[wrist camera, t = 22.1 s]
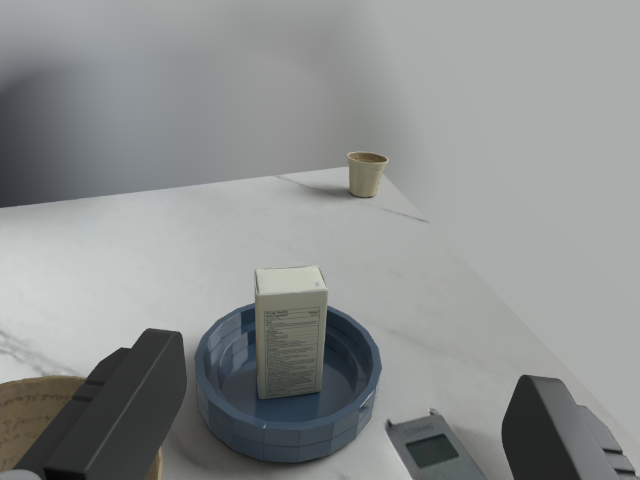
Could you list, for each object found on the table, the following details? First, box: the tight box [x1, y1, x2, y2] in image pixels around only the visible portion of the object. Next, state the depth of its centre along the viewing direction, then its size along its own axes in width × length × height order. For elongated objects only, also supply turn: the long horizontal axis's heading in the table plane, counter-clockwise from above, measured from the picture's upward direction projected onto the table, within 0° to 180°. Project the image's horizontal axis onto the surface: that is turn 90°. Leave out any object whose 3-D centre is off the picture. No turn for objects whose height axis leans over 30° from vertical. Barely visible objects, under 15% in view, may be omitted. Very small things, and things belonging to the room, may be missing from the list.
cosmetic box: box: [254, 266, 328, 399], centre depth 39 cm, size 6×4×12 cm
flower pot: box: [347, 152, 389, 198], centre depth 94 cm, size 9×9×9 cm
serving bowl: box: [194, 303, 382, 463], centre depth 41 cm, size 18×18×4 cm
